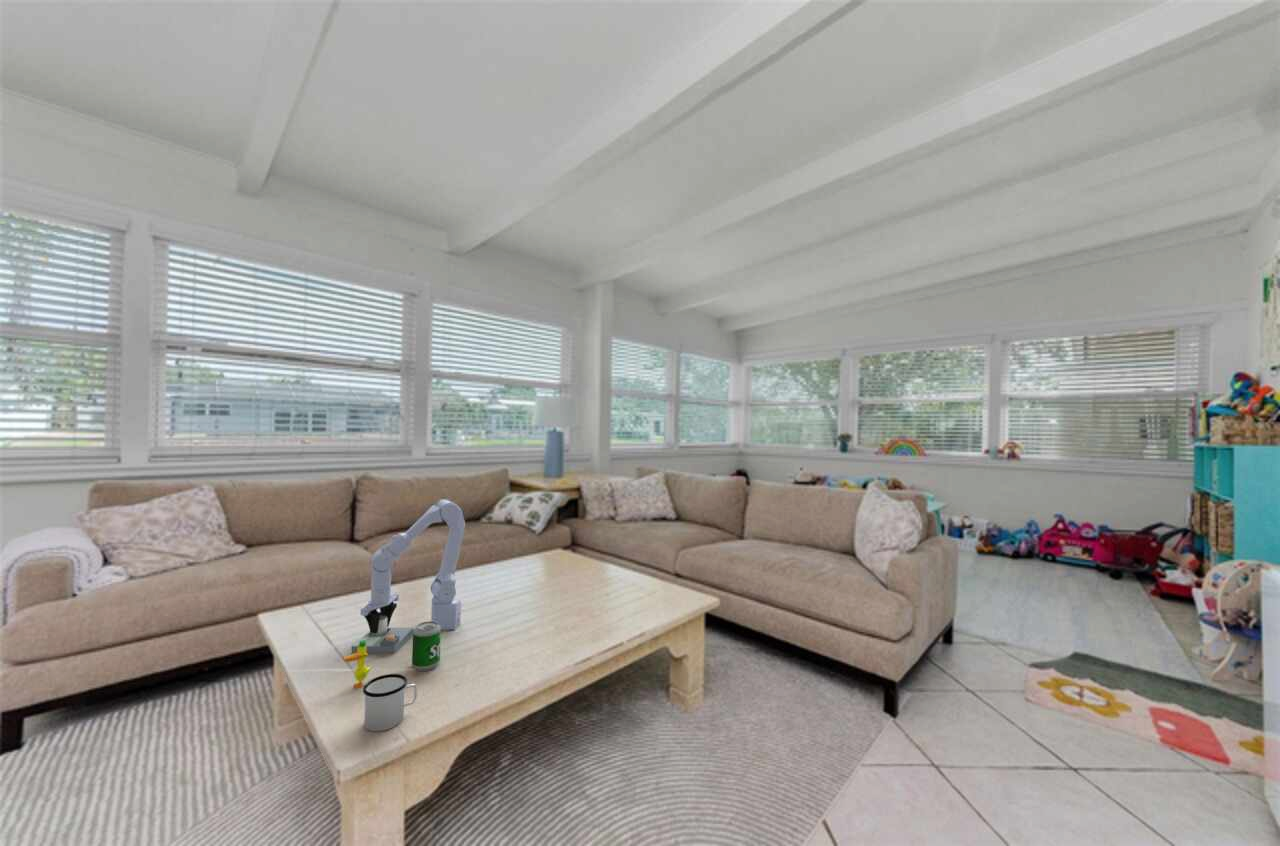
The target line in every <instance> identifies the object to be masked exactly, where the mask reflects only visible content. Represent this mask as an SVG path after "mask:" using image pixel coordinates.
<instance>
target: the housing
mask: <svg viewBox="0 0 1280 846" xmlns="http://www.w3.org/2000/svg"><path fill="white" fill-rule="evenodd" d="M413 630H414V627H387V633H386V634H385V635H372V633H371V632H370V630H369V631H367V633H366V634H364V635H363V636H362V637H360V638H359V639H358V640H357V641H355V642H354V643H353V644H352V645H351V654H355V653H358V645H359V644H360V641H362V640H365V641H366V643H365V644H367V645H366V653H367V654H396V653H397V652H398V651H399V649H401V647H402V646H403V645H404V644H405V643H406V642H407V641H408V640H409V639H410V638H411V637H413ZM388 635H395V639H394V640H393V641H385V637H386V636H388Z"/></svg>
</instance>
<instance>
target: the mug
mask: <svg viewBox="0 0 1280 846" xmlns="http://www.w3.org/2000/svg"><path fill="white" fill-rule="evenodd" d="M411 687H414V690H413V691H414V694H413V699H412V700H410V701H408V702H405V690H406V689H409V688H411ZM417 689H418V686H417V684H416V683H409V684H408V678H407V677H406V675H403V674H399V673H389V674H383V675H379V676H377V677H374V678H372V679H370V680H369V681H367V682H366V683H365V684H363V686H362V693H363V694H364V695H365V700H364V720H363V721H364V723H363V724H364V725H363V726H364V728H365V729H366V730H367V731H371V732H384V731H388V730H390V729H392V728H394V727H396V726H398V724H399V725H400V723H401V722H402V721H403V719H404V716H405V715H404V713H405V712H404V711H405V707H408V706H409V705H413V704H414V703H415V702H416V700H417V693H418V691H417Z"/></svg>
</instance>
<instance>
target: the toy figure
mask: <svg viewBox="0 0 1280 846" xmlns="http://www.w3.org/2000/svg"><path fill="white" fill-rule="evenodd" d="M365 643H366V641H365V640H362V641H360V644H359V645H358V653H351V654H349V655H346V656H345V657H344V658H343V661H345V662H347V663H351V662H354V661H357V667H356V668H355V670H354V679H355V680H356V681H357V682H355V683H354V684H353V687H354V689H359V688H361V687H362V688H363V687H364V684H363V683H362V682H363V681H365V679H366V678H367V675H368V674H369V672H370V671H371V669H372V666H369V667H367V666H366V664H365V663H366V657H368V656H369V653H366V645H367V644H365Z"/></svg>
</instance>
